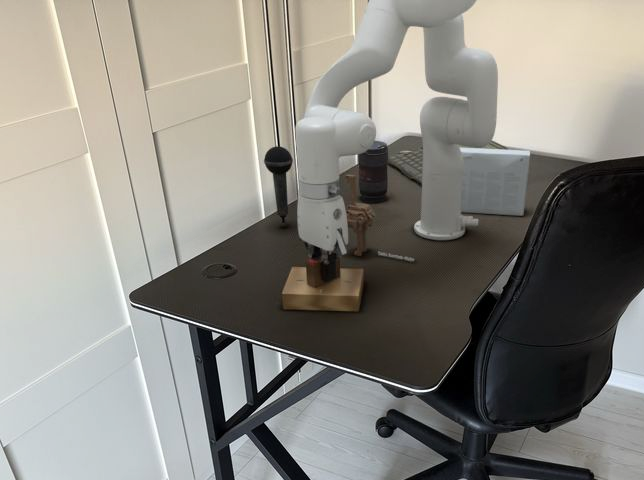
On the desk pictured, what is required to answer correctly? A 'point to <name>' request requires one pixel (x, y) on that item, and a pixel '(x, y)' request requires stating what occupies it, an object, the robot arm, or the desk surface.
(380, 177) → the camera lens
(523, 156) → the skincare box
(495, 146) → the computer keyboard
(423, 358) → the desk surface
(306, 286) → the wooden dial board
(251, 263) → the desk surface
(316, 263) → the arm
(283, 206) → the microphone
